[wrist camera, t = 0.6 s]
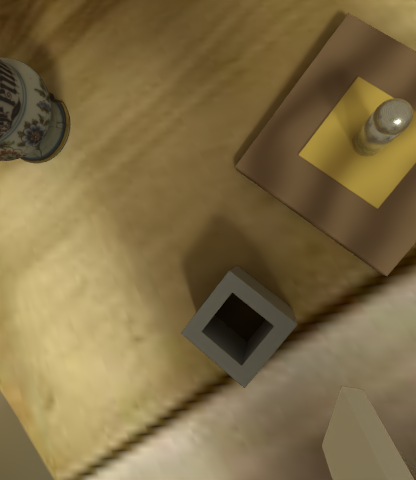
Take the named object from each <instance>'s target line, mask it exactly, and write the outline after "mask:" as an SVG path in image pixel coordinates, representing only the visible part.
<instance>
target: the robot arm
mask: <svg viewBox="0 0 416 480" xmlns="http://www.w3.org/2000/svg"><path fill="white" fill-rule="evenodd" d="M322 448H323V451H324V454H325V458H326V461H327V464H328V467H329V470H330V473H331V477H332V480H414V478H413V476H412V475H411V473H410V471H409V469H408V468H407V466H406V464H405V462H404V461H403V459H402V457H401V455H400V454H399V452H398V450H397V448H396V447H395V445H394V443H393V441H392V439H391V438H390V436H389V434H388V432H387V431H386V429H385V427H384V425H383V424H382V422H381V420H380V418H379V417H378V415H377V413H376V411H375V410H374V408H373V406H372V404H371V403H370V401H369V399H368V397H367V396H366V394H365V392H364V390H361V389H355V388H349V387H343V386H341V389H340V392H339V395H338V398H337V401H336V404H335V407H334V410H333V413H332V416H331V419H330V422H329V425H328V428H327V431H326V434H325V437H324V440H323V444H322Z"/></svg>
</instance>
